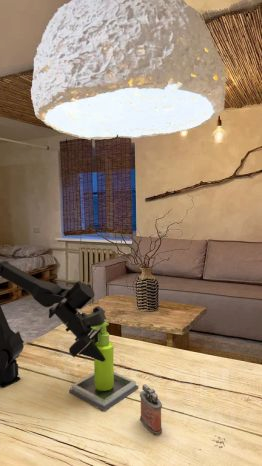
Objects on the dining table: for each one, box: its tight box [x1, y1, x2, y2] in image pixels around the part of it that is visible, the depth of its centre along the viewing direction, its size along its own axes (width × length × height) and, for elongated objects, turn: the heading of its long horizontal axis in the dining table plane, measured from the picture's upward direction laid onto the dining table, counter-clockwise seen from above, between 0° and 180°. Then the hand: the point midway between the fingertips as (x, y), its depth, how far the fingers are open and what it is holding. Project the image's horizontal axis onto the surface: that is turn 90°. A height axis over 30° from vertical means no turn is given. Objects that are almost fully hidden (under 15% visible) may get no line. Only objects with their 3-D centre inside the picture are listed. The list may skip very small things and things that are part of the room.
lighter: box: [139, 383, 163, 436], centre depth 89 cm, size 8×3×10 cm, turn 30°
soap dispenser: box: [91, 321, 115, 391], centre depth 104 cm, size 6×7×20 cm
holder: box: [69, 371, 139, 413], centre depth 106 cm, size 15×15×2 cm
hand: (107, 355), depth 105 cm, fingers closed on soap dispenser, 6 cm apart
